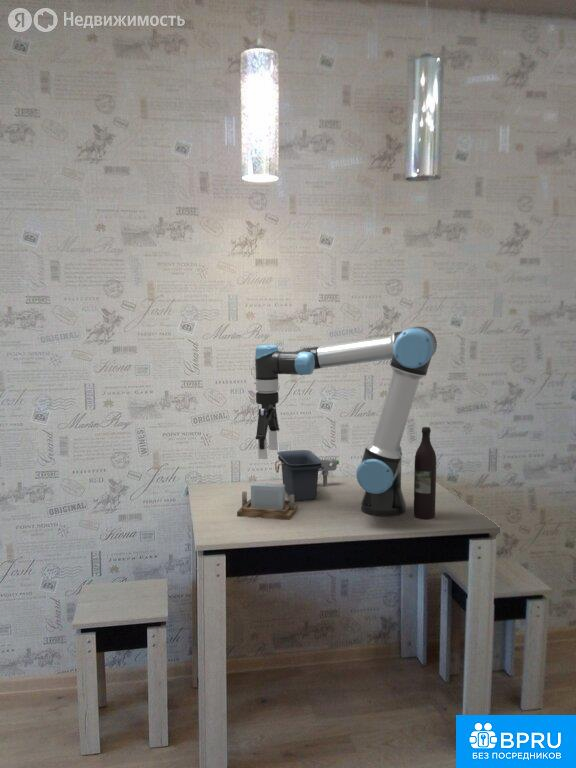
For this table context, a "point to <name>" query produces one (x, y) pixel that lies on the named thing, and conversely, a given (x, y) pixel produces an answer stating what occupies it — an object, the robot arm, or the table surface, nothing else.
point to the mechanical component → (328, 468)
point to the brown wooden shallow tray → (267, 513)
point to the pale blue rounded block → (268, 496)
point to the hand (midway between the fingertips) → (268, 454)
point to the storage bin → (300, 473)
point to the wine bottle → (425, 478)
